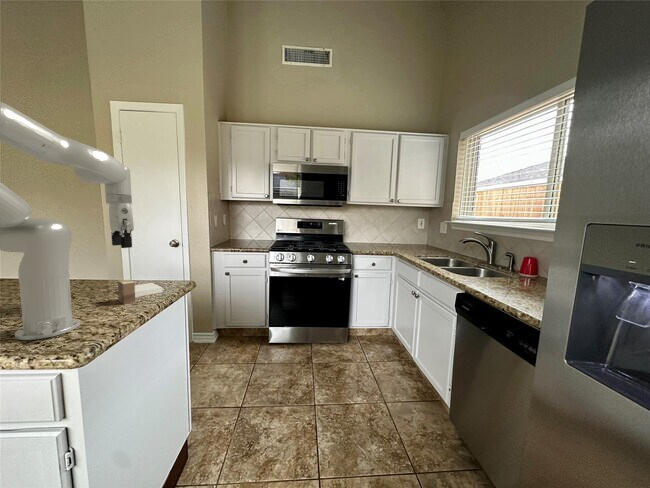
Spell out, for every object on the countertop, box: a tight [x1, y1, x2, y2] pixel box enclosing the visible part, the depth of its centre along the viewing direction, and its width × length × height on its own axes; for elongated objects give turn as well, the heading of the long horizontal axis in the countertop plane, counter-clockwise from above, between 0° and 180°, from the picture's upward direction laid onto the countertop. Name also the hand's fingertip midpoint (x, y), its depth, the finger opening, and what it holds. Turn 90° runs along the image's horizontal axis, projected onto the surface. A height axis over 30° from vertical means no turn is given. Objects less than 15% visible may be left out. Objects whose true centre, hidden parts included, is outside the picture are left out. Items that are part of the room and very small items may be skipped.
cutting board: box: [135, 282, 164, 298], centre depth 111 cm, size 12×12×2 cm
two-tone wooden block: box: [117, 278, 136, 305], centre depth 98 cm, size 6×4×8 cm, turn 53°
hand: (122, 246), depth 97 cm, fingers open, 9 cm apart
